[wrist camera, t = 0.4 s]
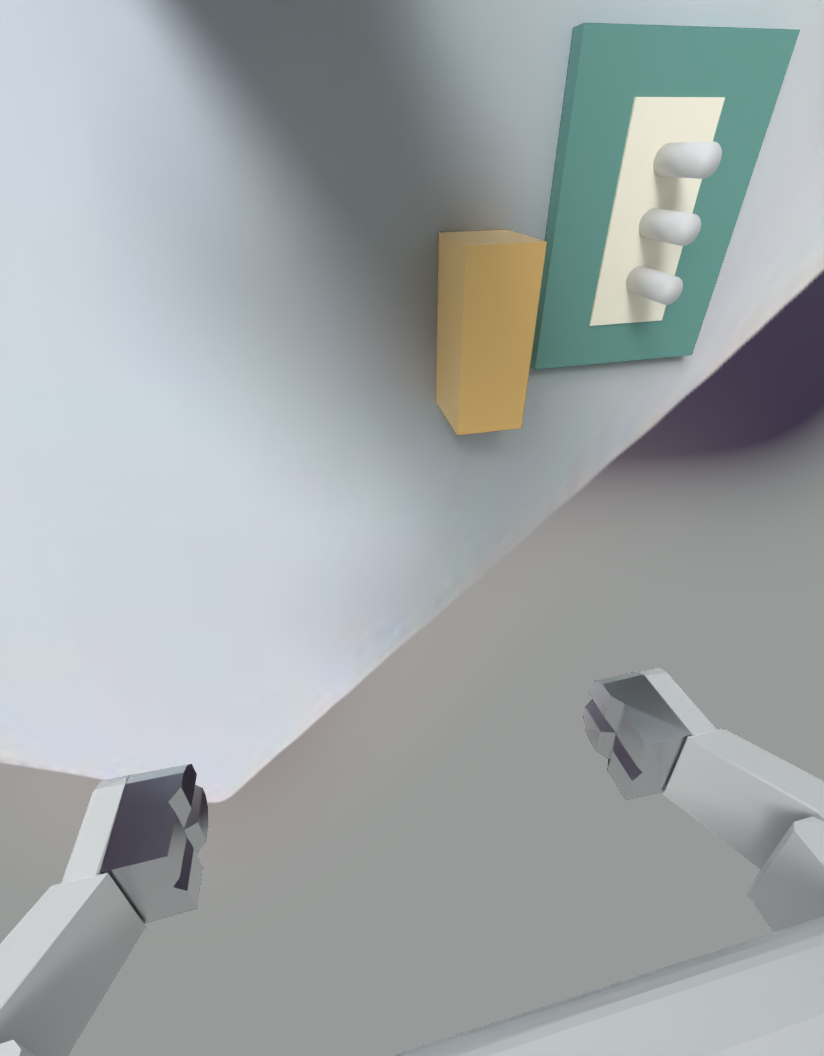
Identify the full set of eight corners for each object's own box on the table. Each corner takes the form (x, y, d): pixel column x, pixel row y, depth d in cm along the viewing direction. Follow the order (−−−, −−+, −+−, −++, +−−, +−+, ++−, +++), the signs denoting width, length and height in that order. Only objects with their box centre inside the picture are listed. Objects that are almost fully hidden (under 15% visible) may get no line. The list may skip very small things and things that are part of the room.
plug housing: (438, 232, 37) (466, 245, 32) (508, 229, 38) (546, 241, 33) (435, 401, 46) (457, 435, 40) (492, 396, 47) (521, 428, 41)
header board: (573, 27, 32) (625, 4, 27) (782, 33, 35) (864, 14, 30) (528, 363, 45) (558, 388, 41) (681, 350, 48) (726, 371, 43)
